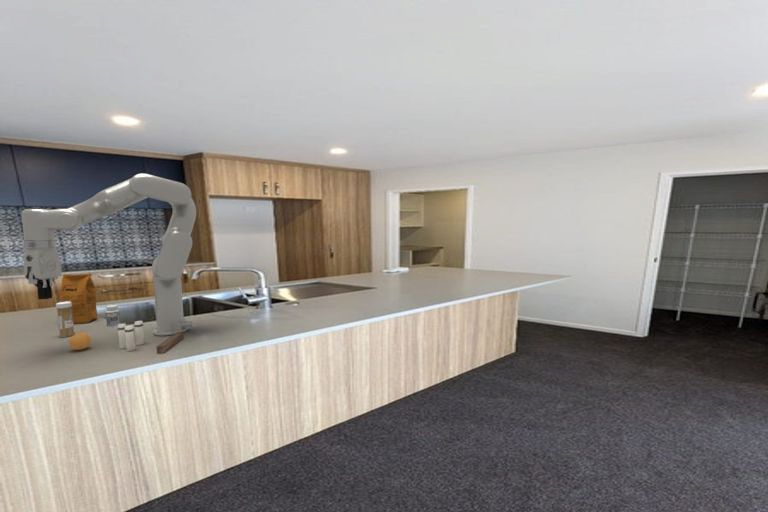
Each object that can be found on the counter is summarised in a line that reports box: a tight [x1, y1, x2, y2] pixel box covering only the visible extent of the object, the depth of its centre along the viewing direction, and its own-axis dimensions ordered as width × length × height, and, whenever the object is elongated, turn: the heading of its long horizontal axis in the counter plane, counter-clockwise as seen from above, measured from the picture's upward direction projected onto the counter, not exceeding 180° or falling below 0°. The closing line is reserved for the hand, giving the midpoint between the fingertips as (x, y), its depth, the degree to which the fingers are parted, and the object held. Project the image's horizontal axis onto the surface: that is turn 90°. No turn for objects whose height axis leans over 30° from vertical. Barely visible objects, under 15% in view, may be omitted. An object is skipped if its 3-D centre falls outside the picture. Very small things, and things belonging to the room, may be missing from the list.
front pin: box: [117, 323, 127, 350], centre depth 128 cm, size 3×3×8 cm
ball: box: [68, 332, 92, 351], centre depth 126 cm, size 6×6×6 cm
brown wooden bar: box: [156, 332, 184, 354], centre depth 130 cm, size 2×16×2 cm, turn 7°
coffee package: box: [59, 272, 99, 325], centre depth 162 cm, size 10×12×22 cm
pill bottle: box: [105, 304, 121, 327], centre depth 157 cm, size 5×5×8 cm
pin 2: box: [133, 320, 145, 346], centre depth 131 cm, size 3×3×8 cm
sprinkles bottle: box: [55, 301, 75, 338], centre depth 142 cm, size 5×5×13 cm
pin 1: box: [125, 324, 136, 352], centre depth 125 cm, size 3×3×8 cm
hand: (45, 298), depth 123 cm, fingers closed
